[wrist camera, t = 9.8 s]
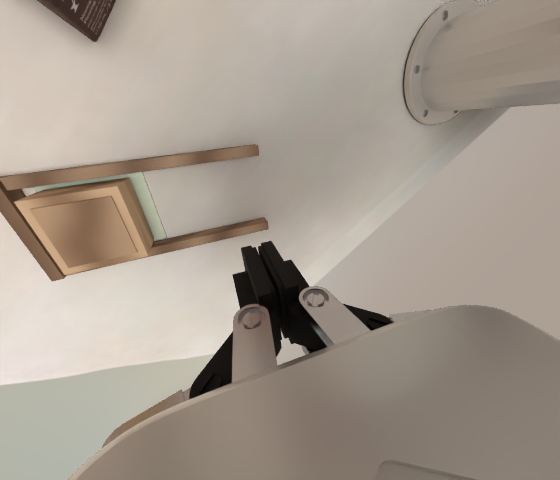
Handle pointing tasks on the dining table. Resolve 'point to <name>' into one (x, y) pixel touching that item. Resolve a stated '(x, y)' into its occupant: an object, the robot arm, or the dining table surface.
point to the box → (82, 14)
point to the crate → (89, 224)
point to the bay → (8, 190)
